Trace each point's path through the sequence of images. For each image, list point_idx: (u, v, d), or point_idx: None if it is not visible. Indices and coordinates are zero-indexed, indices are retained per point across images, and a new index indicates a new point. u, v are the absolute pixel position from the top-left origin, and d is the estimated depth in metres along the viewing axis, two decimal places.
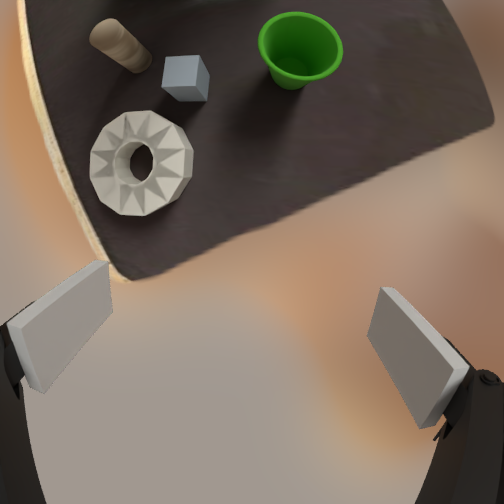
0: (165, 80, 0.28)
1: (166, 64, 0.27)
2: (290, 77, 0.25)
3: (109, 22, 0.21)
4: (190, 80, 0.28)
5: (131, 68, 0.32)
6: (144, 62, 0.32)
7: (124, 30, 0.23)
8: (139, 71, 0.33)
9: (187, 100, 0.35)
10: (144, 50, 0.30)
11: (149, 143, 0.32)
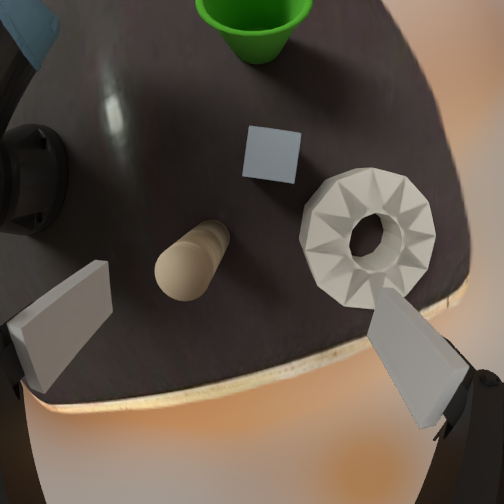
0: (284, 177, 0.22)
1: (256, 175, 0.22)
2: (310, 8, 0.15)
3: (163, 265, 0.19)
4: (291, 139, 0.21)
5: (226, 245, 0.29)
6: (220, 226, 0.29)
7: (181, 241, 0.21)
8: (228, 236, 0.30)
9: None
10: (203, 224, 0.27)
11: (357, 216, 0.25)
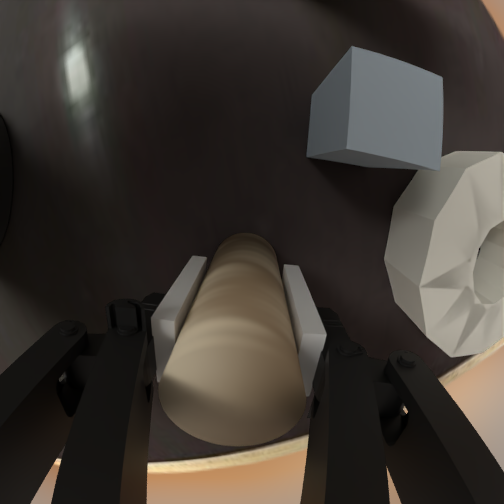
0: (424, 157, 0.09)
1: (374, 148, 0.09)
2: None
3: (179, 387, 0.07)
4: (429, 85, 0.08)
5: None
6: (266, 248, 0.16)
7: (218, 315, 0.08)
8: None
9: None
10: (238, 247, 0.15)
11: (486, 226, 0.12)
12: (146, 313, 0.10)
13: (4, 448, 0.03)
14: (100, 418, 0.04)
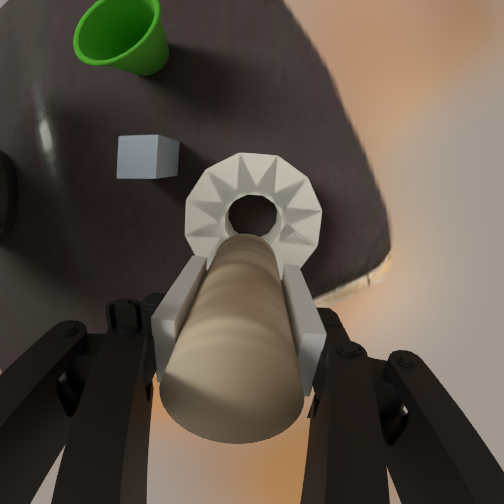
0: (147, 174, 0.24)
1: (126, 176, 0.24)
2: (155, 24, 0.17)
3: (180, 385, 0.07)
4: (150, 141, 0.23)
5: None
6: (265, 248, 0.16)
7: (218, 315, 0.08)
8: None
9: (177, 164, 0.31)
10: (238, 248, 0.15)
11: (229, 199, 0.28)
12: (146, 313, 0.10)
13: (4, 448, 0.03)
14: (100, 418, 0.04)
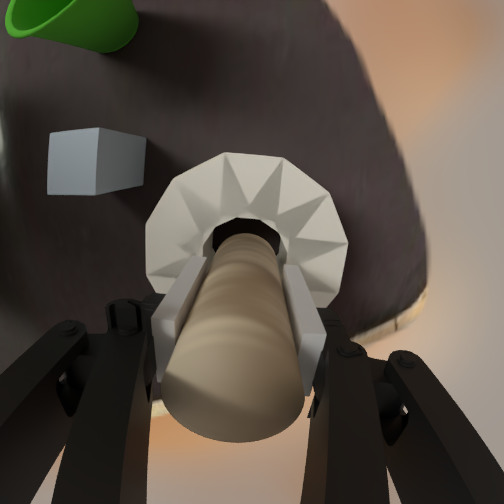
0: (84, 188, 0.15)
1: (58, 191, 0.15)
2: None
3: (181, 384, 0.07)
4: (88, 139, 0.14)
5: None
6: (265, 248, 0.16)
7: (219, 314, 0.08)
8: None
9: (142, 169, 0.22)
10: (238, 247, 0.15)
11: (208, 225, 0.18)
12: (146, 313, 0.10)
13: (4, 448, 0.03)
14: (100, 418, 0.04)
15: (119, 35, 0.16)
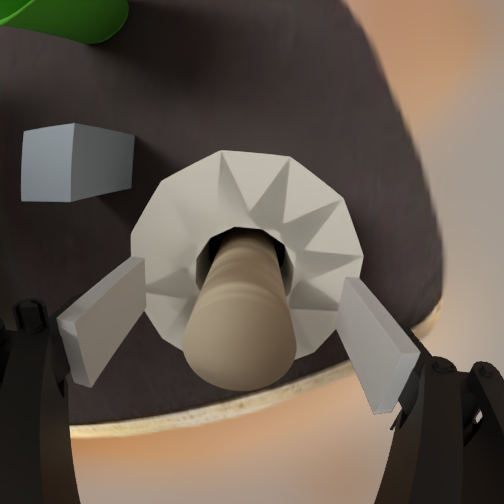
0: (58, 194, 0.12)
1: (32, 197, 0.12)
2: None
3: (199, 335, 0.10)
4: (63, 136, 0.11)
5: None
6: (265, 237, 0.19)
7: (229, 281, 0.11)
8: None
9: (129, 170, 0.19)
10: (242, 236, 0.17)
11: (202, 235, 0.16)
12: None
13: None
14: (17, 411, 0.04)
15: (106, 23, 0.14)
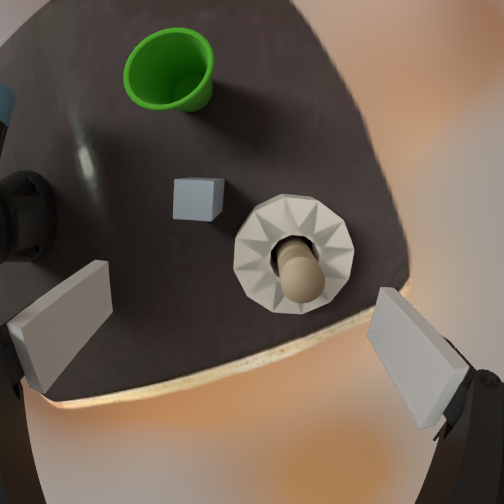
0: (203, 217, 0.28)
1: (182, 217, 0.28)
2: (210, 72, 0.22)
3: (288, 277, 0.25)
4: (206, 187, 0.28)
5: None
6: (302, 240, 0.35)
7: (297, 257, 0.27)
8: None
9: (222, 200, 0.35)
10: (292, 239, 0.33)
11: (274, 239, 0.32)
12: None
13: None
14: None
15: (203, 103, 0.30)
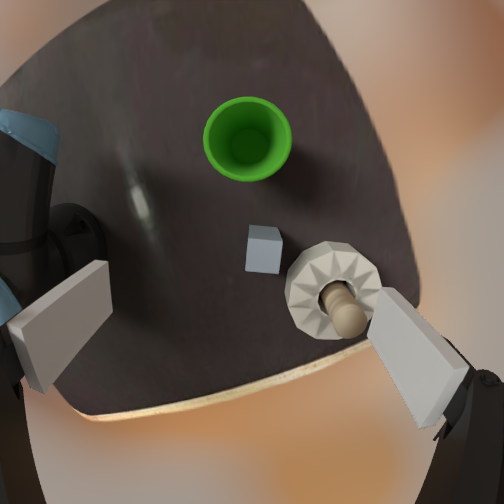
0: (272, 270, 0.35)
1: (254, 270, 0.35)
2: (289, 151, 0.28)
3: (342, 320, 0.32)
4: (276, 246, 0.34)
5: None
6: (341, 280, 0.41)
7: (347, 304, 0.33)
8: None
9: None
10: (334, 281, 0.40)
11: (323, 283, 0.38)
12: None
13: None
14: None
15: (264, 161, 0.36)
